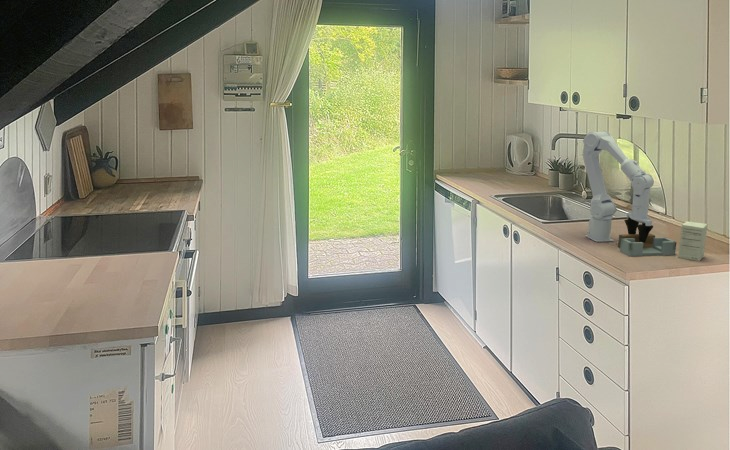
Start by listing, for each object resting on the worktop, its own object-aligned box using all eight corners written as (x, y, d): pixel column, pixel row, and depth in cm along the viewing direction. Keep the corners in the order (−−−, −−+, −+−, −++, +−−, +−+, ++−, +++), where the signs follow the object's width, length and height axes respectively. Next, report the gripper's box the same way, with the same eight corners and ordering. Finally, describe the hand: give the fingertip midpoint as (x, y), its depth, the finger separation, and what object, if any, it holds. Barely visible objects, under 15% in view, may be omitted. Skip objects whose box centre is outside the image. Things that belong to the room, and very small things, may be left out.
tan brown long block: (617, 246, 240) (619, 234, 239) (649, 245, 241) (651, 233, 240) (621, 248, 237) (623, 236, 236) (653, 248, 239) (655, 235, 237)
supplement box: (682, 253, 231) (686, 220, 228) (704, 256, 227) (708, 223, 224) (677, 257, 226) (681, 224, 223) (699, 261, 221) (704, 227, 218)
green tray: (619, 251, 234) (621, 238, 233) (664, 249, 236) (665, 237, 235) (629, 256, 227) (630, 243, 226) (674, 254, 229) (676, 242, 228)
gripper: (660, 209, 229) (657, 244, 232) (640, 201, 243) (636, 235, 246) (643, 209, 228) (639, 244, 231) (623, 202, 242) (619, 235, 245)
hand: (636, 239), depth 239 cm, fingers open, 7 cm apart
